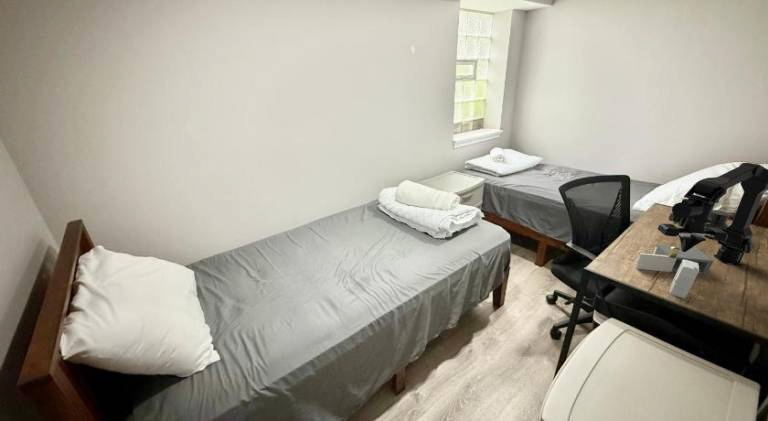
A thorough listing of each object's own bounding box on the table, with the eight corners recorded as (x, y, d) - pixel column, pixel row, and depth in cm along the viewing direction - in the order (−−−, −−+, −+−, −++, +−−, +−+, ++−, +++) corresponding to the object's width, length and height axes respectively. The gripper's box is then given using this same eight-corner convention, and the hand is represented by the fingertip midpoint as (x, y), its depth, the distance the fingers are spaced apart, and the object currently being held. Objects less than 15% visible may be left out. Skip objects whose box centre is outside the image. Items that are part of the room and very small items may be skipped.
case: (690, 261, 130) (696, 247, 128) (706, 274, 121) (713, 260, 119) (651, 257, 133) (656, 244, 131) (664, 270, 124) (670, 256, 122)
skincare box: (669, 286, 115) (681, 258, 111) (686, 290, 113) (698, 262, 108) (669, 294, 111) (681, 265, 106) (686, 299, 108) (699, 270, 104)
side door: (668, 269, 124) (678, 246, 120) (672, 273, 122) (681, 249, 118) (634, 266, 127) (642, 243, 123) (637, 269, 125) (645, 246, 121)
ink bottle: (691, 230, 155) (700, 208, 151) (710, 230, 155) (720, 208, 150) (708, 239, 147) (718, 216, 142) (728, 240, 146) (739, 217, 141)
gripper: (714, 208, 118) (698, 244, 124) (656, 204, 122) (644, 239, 129) (736, 220, 108) (718, 258, 114) (673, 215, 113) (659, 252, 119)
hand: (683, 251), depth 119 cm, fingers closed
